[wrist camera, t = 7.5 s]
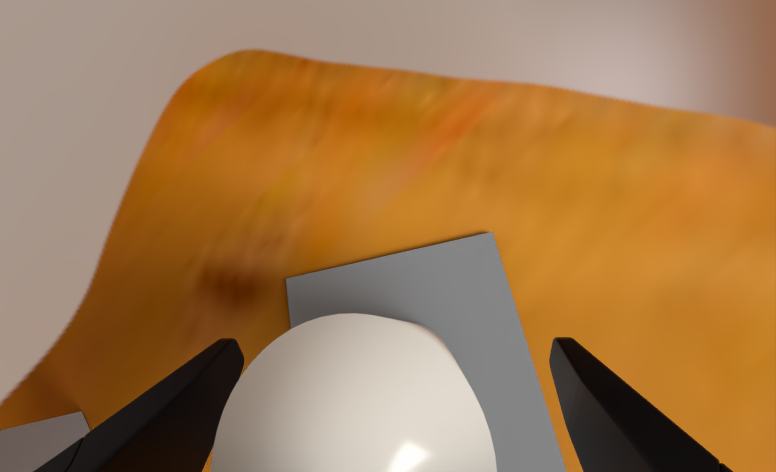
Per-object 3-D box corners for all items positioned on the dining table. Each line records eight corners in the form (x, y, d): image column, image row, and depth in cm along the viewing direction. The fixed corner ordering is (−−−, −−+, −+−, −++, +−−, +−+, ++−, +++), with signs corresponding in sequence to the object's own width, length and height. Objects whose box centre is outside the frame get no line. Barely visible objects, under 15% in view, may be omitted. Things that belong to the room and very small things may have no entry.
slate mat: (567, 480, 15) (571, 484, 14) (314, 523, 16) (311, 527, 15) (491, 233, 18) (492, 231, 18) (288, 279, 19) (285, 278, 19)
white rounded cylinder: (470, 400, 16) (558, 592, 4) (377, 435, 16) (226, 708, 5) (433, 309, 17) (426, 274, 6) (348, 342, 17) (176, 372, 6)
